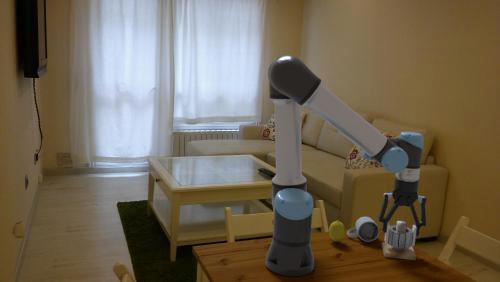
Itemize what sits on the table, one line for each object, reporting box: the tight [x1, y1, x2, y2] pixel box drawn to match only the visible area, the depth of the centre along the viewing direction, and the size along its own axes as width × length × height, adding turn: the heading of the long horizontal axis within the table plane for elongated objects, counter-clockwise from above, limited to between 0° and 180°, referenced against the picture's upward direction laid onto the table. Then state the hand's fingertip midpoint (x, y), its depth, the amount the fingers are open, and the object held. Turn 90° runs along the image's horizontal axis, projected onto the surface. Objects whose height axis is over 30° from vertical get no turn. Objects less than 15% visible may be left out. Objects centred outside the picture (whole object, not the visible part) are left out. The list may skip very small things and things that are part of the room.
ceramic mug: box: [346, 216, 380, 243], centre depth 170 cm, size 11×8×8 cm
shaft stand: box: [381, 220, 417, 261], centre depth 158 cm, size 10×9×11 cm
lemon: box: [328, 220, 346, 243], centre depth 165 cm, size 6×6×8 cm
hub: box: [388, 224, 413, 249], centre depth 158 cm, size 8×8×5 cm
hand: (399, 242), depth 158 cm, fingers closed on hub, 8 cm apart
